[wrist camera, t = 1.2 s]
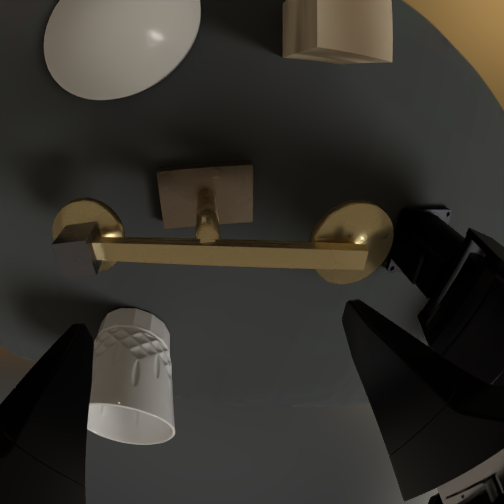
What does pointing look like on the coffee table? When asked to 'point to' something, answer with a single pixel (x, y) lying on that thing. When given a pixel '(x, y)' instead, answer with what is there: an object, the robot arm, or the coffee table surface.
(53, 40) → the dish
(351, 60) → the block
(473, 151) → the coffee table surface
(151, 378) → the white cup
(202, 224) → the balance
